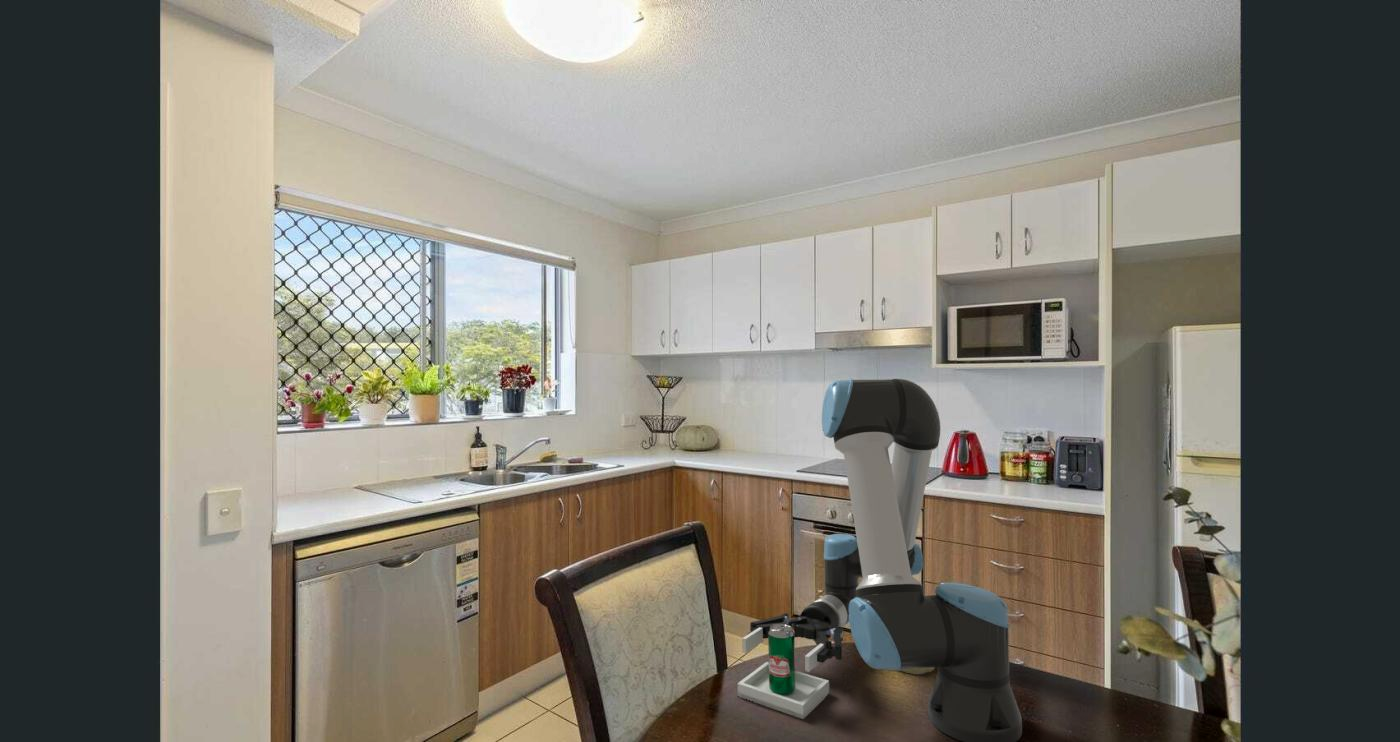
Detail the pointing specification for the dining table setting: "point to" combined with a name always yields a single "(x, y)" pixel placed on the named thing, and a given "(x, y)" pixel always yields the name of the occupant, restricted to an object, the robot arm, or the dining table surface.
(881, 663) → the robot arm
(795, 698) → the tray
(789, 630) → the soda can
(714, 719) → the dining table surface
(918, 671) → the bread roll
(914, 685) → the dining table surface
